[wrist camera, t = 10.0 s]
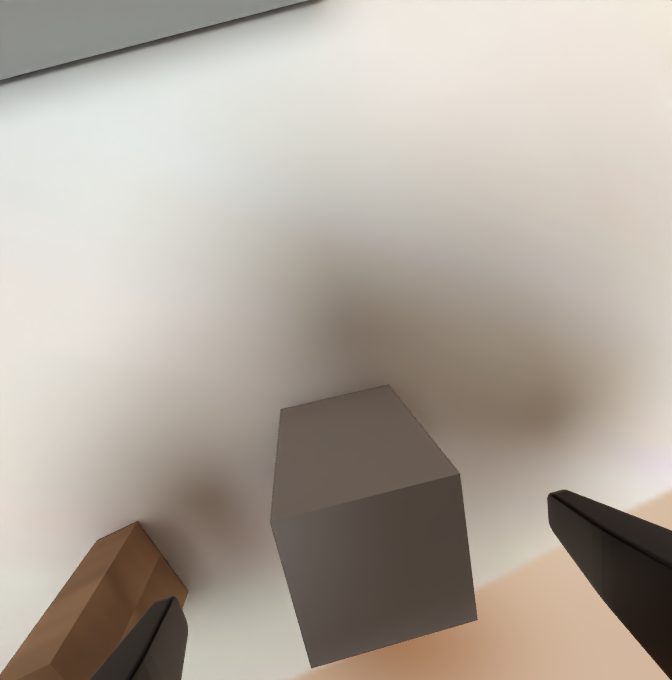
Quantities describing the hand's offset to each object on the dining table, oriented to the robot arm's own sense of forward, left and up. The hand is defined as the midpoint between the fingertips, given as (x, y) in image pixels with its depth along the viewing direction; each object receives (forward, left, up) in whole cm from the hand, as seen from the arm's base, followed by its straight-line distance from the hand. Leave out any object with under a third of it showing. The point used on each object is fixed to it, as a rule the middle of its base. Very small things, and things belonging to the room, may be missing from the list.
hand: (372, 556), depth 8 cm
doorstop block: (0, 0, -5) cm, 5 cm away
